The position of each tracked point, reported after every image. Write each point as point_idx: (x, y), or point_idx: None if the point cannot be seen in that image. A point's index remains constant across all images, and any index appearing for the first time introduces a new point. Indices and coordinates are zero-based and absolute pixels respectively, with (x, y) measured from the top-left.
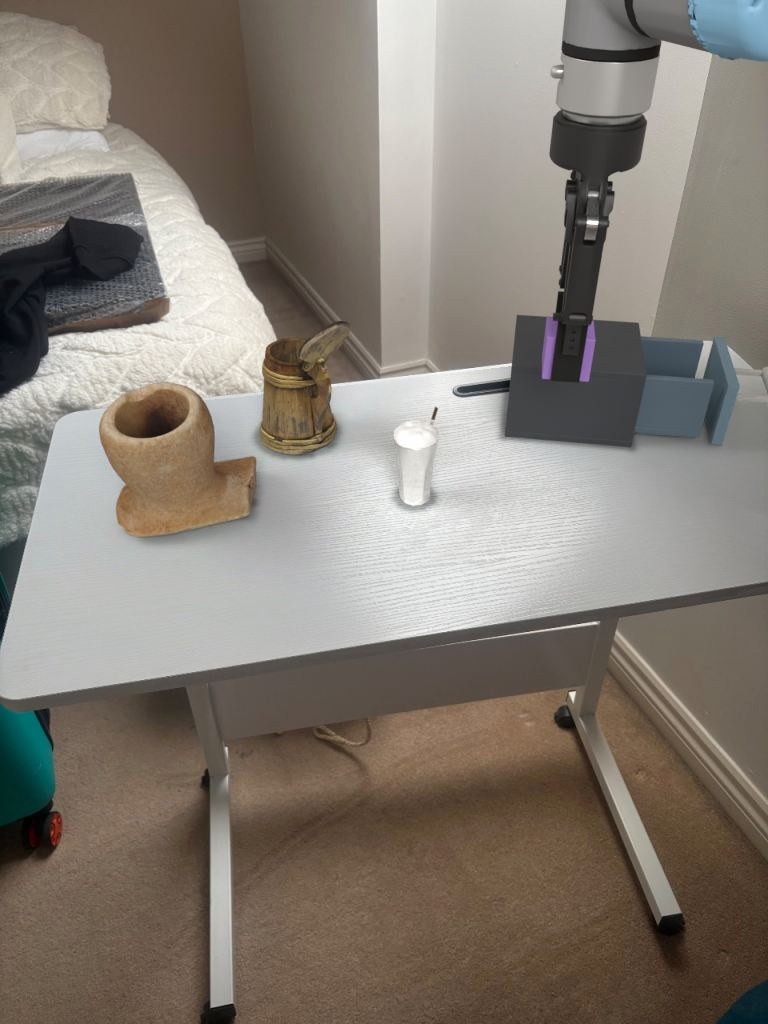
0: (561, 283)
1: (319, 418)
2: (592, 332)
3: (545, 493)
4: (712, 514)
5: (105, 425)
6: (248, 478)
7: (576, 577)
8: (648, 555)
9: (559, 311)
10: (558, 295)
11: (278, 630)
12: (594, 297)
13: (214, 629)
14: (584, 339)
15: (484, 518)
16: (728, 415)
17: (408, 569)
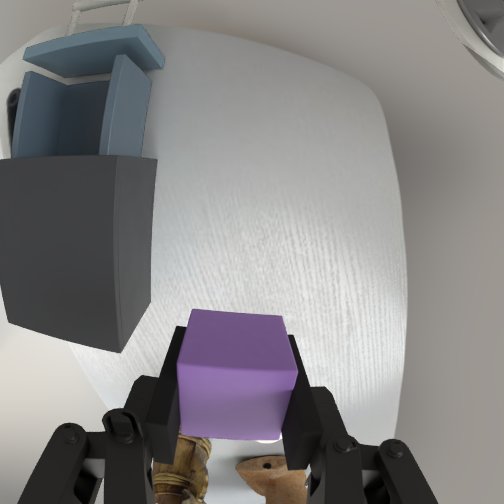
0: (152, 476)
1: (200, 456)
2: (258, 375)
3: (252, 268)
4: (285, 93)
5: None
6: (271, 470)
7: (375, 251)
8: (351, 178)
9: (178, 429)
10: (173, 463)
11: (382, 419)
12: (430, 493)
13: (373, 439)
14: (312, 397)
15: (293, 326)
16: (153, 45)
17: (349, 373)
